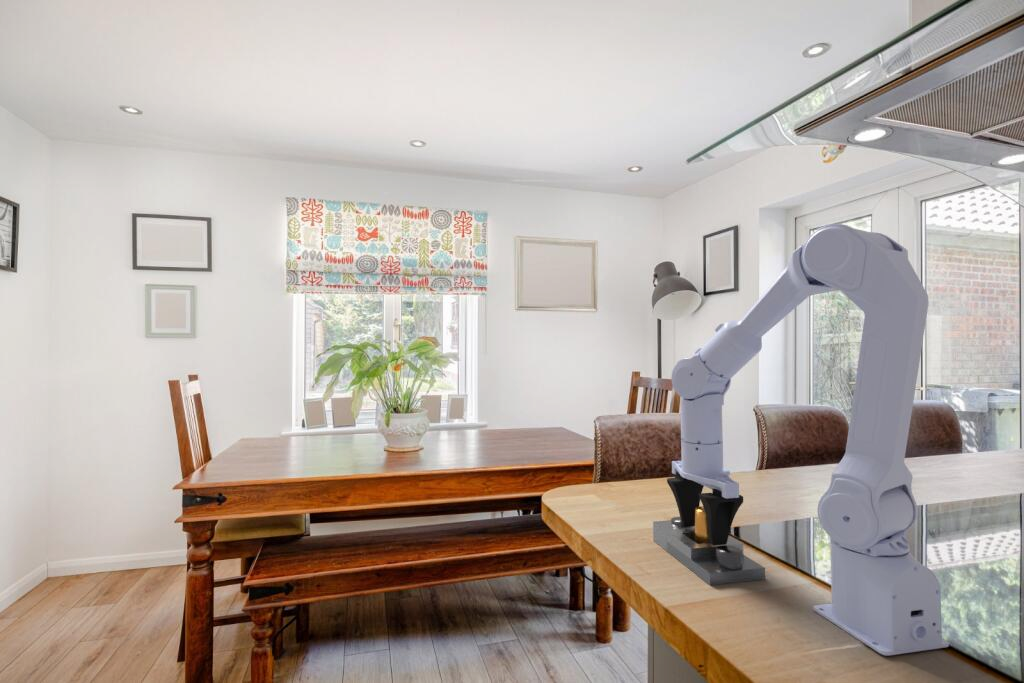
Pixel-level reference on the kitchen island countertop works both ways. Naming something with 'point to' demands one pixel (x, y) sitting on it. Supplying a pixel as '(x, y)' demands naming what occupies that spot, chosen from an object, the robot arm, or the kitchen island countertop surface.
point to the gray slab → (706, 554)
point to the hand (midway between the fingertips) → (703, 534)
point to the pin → (701, 526)
